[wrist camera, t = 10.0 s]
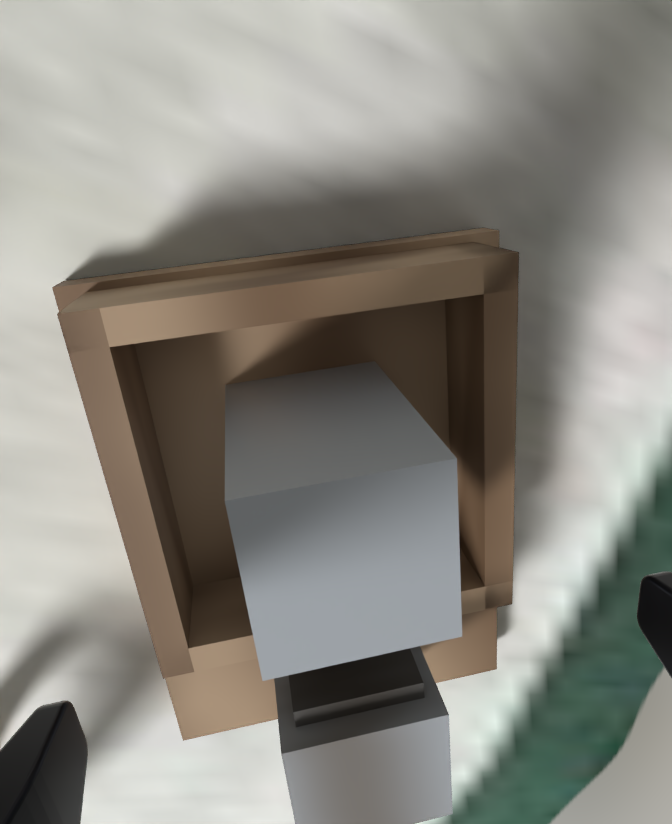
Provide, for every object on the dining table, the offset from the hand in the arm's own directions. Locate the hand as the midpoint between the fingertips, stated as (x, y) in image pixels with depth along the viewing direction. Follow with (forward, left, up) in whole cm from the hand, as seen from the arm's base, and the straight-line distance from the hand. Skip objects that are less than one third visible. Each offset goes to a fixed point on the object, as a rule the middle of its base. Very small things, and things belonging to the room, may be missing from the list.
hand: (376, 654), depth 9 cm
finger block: (0, 0, -8) cm, 8 cm away
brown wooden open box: (0, +2, -9) cm, 9 cm away
